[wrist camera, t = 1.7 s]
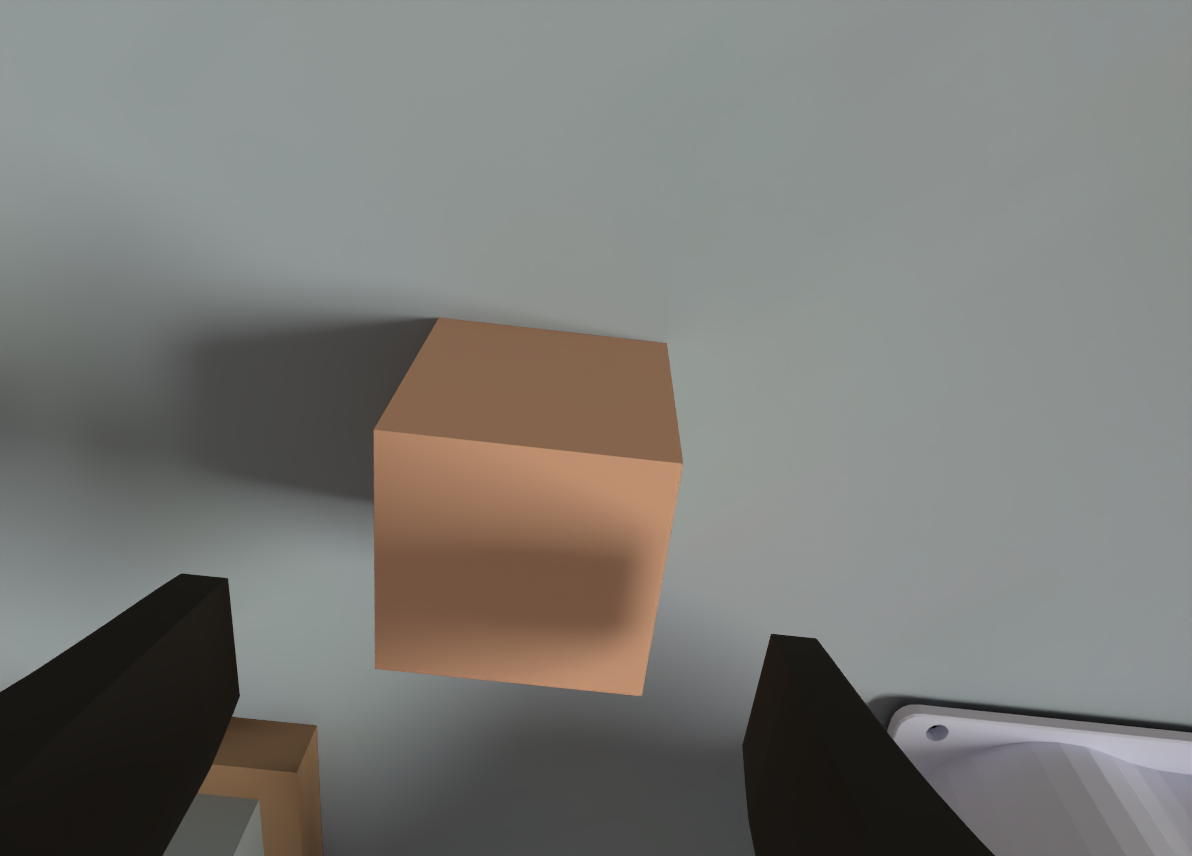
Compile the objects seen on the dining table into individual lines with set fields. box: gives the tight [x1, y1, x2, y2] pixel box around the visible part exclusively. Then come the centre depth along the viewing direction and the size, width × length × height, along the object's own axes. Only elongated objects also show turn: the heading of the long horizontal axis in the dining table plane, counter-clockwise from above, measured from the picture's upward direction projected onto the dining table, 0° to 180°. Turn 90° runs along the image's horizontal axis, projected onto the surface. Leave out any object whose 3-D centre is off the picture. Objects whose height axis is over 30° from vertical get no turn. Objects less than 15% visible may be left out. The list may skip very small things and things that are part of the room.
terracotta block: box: [374, 318, 683, 696], centre depth 16 cm, size 4×4×5 cm
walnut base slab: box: [197, 717, 323, 856], centre depth 23 cm, size 10×10×2 cm
